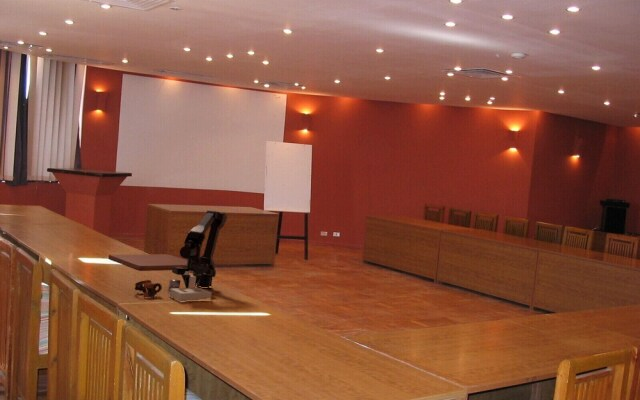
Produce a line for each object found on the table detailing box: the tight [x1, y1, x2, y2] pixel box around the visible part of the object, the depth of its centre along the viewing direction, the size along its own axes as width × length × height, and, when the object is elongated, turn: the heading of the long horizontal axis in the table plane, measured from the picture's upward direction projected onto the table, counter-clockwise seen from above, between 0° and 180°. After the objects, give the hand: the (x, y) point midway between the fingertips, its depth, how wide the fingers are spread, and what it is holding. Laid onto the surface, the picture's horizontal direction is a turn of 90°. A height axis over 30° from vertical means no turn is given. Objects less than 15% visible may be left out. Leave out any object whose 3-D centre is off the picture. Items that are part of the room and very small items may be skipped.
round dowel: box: [168, 278, 181, 293], centre depth 332 cm, size 5×5×6 cm
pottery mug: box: [134, 279, 163, 298], centre depth 318 cm, size 12×10×8 cm
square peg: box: [188, 274, 196, 288], centre depth 336 cm, size 3×3×8 cm
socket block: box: [168, 287, 213, 301], centre depth 322 cm, size 16×10×4 cm, turn 130°
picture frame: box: [108, 253, 187, 271], centre depth 402 cm, size 40×3×33 cm
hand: (190, 288), depth 336 cm, fingers closed on square peg, 3 cm apart
